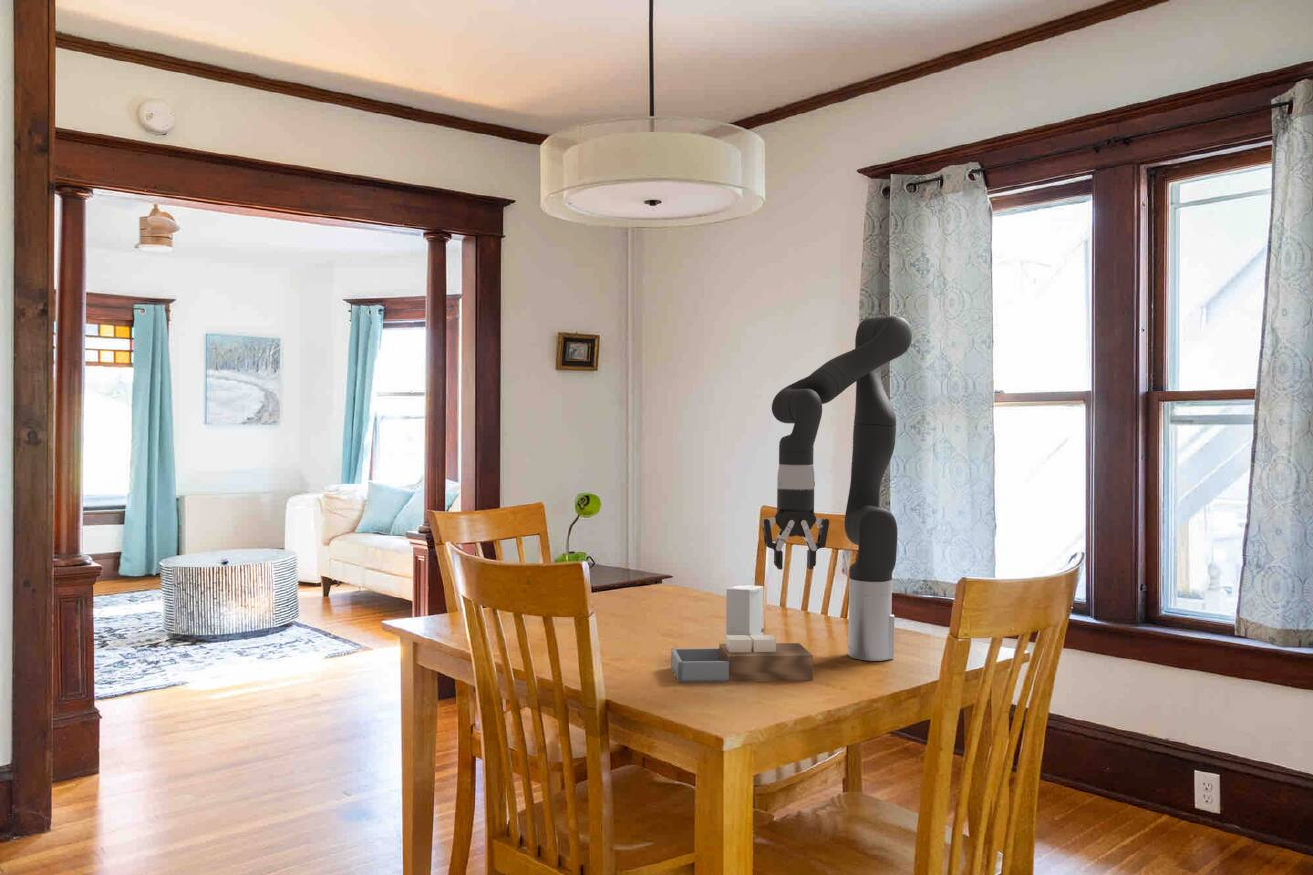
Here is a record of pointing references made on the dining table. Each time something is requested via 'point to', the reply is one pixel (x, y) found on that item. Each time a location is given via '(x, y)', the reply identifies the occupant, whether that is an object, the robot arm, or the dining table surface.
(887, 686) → the dining table surface
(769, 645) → the tile
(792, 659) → the brown wooden block
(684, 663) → the tray
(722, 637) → the dining table surface
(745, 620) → the skincare box
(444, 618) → the dining table surface
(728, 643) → the tile
